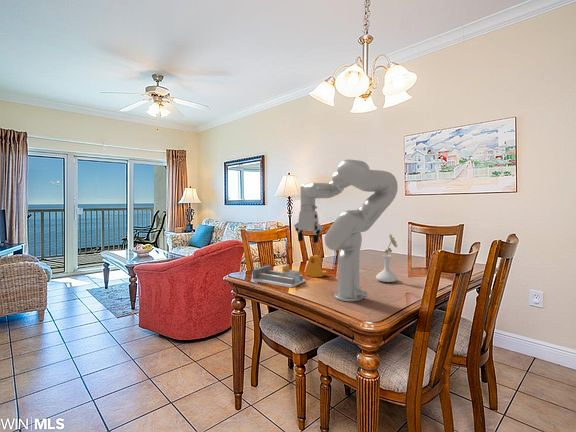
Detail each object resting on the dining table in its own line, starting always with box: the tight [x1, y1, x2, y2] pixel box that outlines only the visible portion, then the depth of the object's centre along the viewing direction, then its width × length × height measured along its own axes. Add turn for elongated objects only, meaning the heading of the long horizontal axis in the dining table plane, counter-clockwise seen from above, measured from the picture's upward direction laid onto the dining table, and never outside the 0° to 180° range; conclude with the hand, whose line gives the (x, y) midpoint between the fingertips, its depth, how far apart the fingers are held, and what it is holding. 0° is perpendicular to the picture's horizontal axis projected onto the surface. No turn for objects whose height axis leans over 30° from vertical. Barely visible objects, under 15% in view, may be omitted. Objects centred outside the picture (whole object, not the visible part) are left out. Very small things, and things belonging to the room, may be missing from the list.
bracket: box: [305, 254, 328, 278], centre depth 181 cm, size 11×7×12 cm, turn 49°
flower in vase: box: [375, 234, 399, 283], centre depth 167 cm, size 13×11×25 cm
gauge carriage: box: [279, 264, 301, 283], centre depth 164 cm, size 8×11×7 cm
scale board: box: [252, 264, 306, 288], centre depth 169 cm, size 25×14×6 cm, turn 56°
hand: (308, 241), depth 160 cm, fingers open, 9 cm apart
